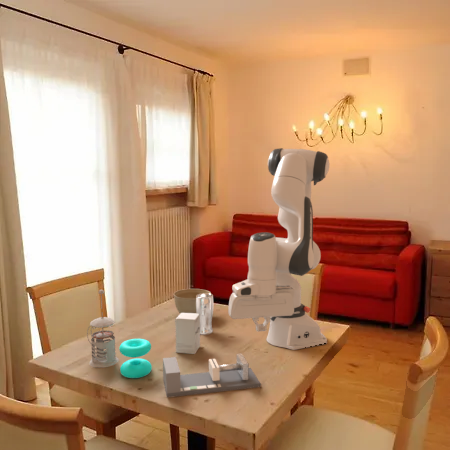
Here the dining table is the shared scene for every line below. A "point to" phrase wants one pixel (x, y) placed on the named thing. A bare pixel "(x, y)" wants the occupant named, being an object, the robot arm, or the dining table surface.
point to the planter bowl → (187, 299)
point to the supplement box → (187, 333)
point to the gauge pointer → (214, 369)
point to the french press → (102, 342)
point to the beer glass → (205, 312)
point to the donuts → (136, 366)
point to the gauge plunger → (237, 367)
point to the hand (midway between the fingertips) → (261, 330)
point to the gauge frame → (202, 381)
